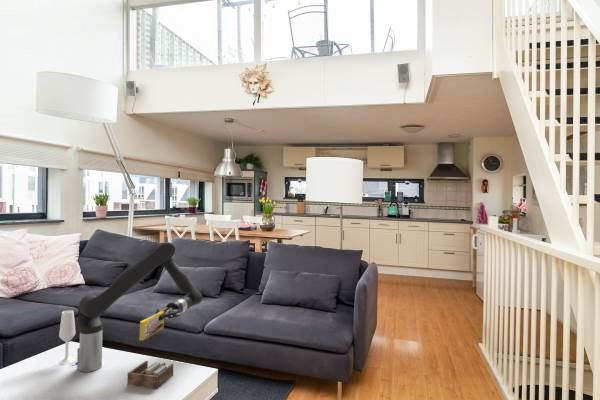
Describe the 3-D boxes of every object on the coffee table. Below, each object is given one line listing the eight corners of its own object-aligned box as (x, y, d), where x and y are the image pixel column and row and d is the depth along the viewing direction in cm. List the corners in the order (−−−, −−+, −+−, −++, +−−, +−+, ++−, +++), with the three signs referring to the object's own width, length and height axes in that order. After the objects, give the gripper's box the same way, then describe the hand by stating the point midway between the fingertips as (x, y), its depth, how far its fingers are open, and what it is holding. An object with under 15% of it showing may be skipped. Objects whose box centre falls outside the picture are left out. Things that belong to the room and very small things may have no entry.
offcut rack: (127, 385, 155) (127, 373, 155) (145, 371, 167) (145, 360, 167) (157, 389, 152) (157, 377, 152) (173, 375, 164) (173, 364, 164)
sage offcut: (145, 383, 156) (145, 369, 156) (156, 375, 164) (156, 361, 164) (149, 384, 156) (149, 370, 156) (160, 375, 164) (160, 362, 164)
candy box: (143, 341, 158) (143, 322, 158) (138, 340, 159) (138, 321, 159) (164, 328, 174) (164, 310, 174) (160, 327, 175) (160, 310, 175)
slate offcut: (153, 385, 155) (153, 372, 155) (162, 377, 162) (162, 365, 162) (157, 385, 154) (157, 372, 155) (166, 378, 161) (166, 365, 161)
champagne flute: (54, 363, 174) (56, 312, 174) (68, 357, 180) (69, 309, 180) (65, 365, 172) (66, 314, 172) (78, 359, 178) (79, 310, 178)
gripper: (164, 299, 188) (143, 309, 171) (189, 301, 185) (170, 311, 168) (164, 313, 188) (143, 325, 171) (189, 316, 185) (170, 327, 168)
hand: (157, 318), depth 170 cm, fingers closed on candy box, 2 cm apart
